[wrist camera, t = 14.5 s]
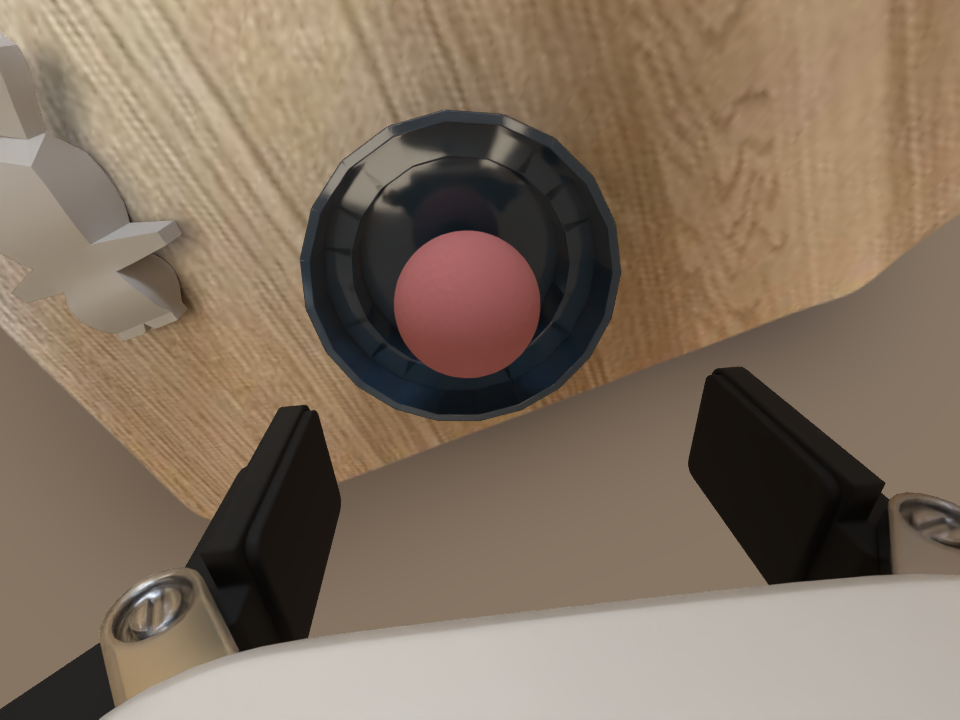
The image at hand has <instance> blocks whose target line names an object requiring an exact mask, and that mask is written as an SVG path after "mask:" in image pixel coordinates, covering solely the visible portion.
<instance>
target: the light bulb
mask: <svg viewBox="0 0 960 720" xmlns="http://www.w3.org/2000/svg"><path fill="white" fill-rule="evenodd" d="M394 313H395V319H396V323H397V326H398V330H399V332H400V335H401V337H402V339H403V341H404V342H405V344H406V345H407V347H408V348H409V349H410V351H411V352H412V353H413V354H414V355H415V356H416V357H417V358H418V359H419V360H420V361H421V362H422V363H424V364H425V365H426V366H428V367H430V368H431V369H433V370H435V371H437V372H440V373H442V374H445V375H448V376H452V377H459V378H477V377H482V376H486V375H490V374H493V373H496V372H498V371H500V370H501V369H503V368H505V367H507V366H508V365H510V364H511V363H512V362H514V361H515V360H516V359H517V358H518V357H519V356H520V355H521V354H522V353H523V352H524V350H525V349H526V348H527V346H528V345H529V343H530V342H531V340H532V338H533V336H534V334H535V331H536V328H537V325H538V321H539V315H540V293H539V288H538V284H537V281H536V278H535V275H534V273H533V271H532V269H531V268H530V266H529V264H528V263H527V261H526V260H525V259H524V257H523V256H522V255H521V254H520V253H519V252H518V251H517V250H516V249H515V248H514V247H512V246H511V245H510V244H508V243H507V242H505V241H503V240H502V239H500V238H498V237H496V236H493V235H490V234H487V233H484V232H478V231H455V232H451V233H447V234H443V235H440V236H438V237H436V238H434V239H432V240H430V241H429V242H427V243H426V244H424V245H423V246H422V247H420V248H419V249H418V250H417V251H416V252H415V253H414V254H413V255H412V256H411V258H410V259H409V260H408V262H407V263H406V264H405V266H404V268H403V270H402V272H401V274H400V276H399V279H398V281H397V286H396V290H395V297H394Z"/></svg>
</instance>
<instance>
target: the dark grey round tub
mask: <svg viewBox="0 0 960 720" xmlns="http://www.w3.org/2000/svg"><path fill="white" fill-rule="evenodd" d="M455 231H478V232H484V233H487V234H490V235H493V236H496V237H498V238H500V239H502V240H503V241H505V242H507V243H508V244H510V245H511V246H512V247H514V248H515V249H516V250H517V251H518V252H519V253H520V254H521V255H522V256H523V257H524V259H525V260H526V261H527V263H528V264H529V266H530V268H531V269H532V271H533V273H534V275H535V278H536V281H537V284H538V288H539V293H540V315H539V321H538V325H537V328H536V331H535V334H534V336H533V338H532V340H531V342H530V343H529V345H528V346H527V348H526V349H525V350H524V352H523V353H522V354H521V355H520V356H519V357H518V358H517V359H516V360H515V361H514V362H512V363H511V364H510V365H508V366H507V367H505V368H503V369H501V370H500V371H498V372H496V373H493V374H490V375H486V376H482V377H477V378H459V377H452V376H448V375H445V374H442V373H440V372H437V371H435V370H433V369H431V368H430V367H428V366H426V365H425V364H424V363H422V362H421V361H420V360H419V359H418V358H417V357H416V356H415V355H414V354H413V353H412V352H411V351H410V349H409V348H408V347H407V345H406V344H405V342H404V341H403V339H402V337H401V335H400V332H399V330H398V326H397V323H396V319H395V313H394V297H395V290H396V286H397V281H398V279H399V276H400V274H401V272H402V270H403V268H404V266H405V264H406V263H407V262H408V260H409V259H410V258H411V256H412V255H413V254H414V253H415V252H416V251H417V250H418V249H419V248H420V247H422V246H423V245H424V244H426V243H427V242H429V241H430V240H432V239H434V238H436V237H438V236H440V235H443V234H447V233H451V232H455ZM300 265H301V274H302V282H303V291H304V299H305V308H306V311H307V313H308V315H309V317H310V319H311V321H312V324H313V326H314V328H315V330H316V332H317V334H318V336H319V339H320V341H321V343H322V345H323V347H324V349H325V351H326V353H327V354H328V355H329V356H330V357H331V358H332V359H333V361H334V362H335V363H336V364H337V365H338V366H339V367H340V368H341V369H342V370H343V371H344V373H345V374H346V375H347V376H348V377H349V378H350V379H351V380H352V381H353V382H354V383H355V385H356V386H358V387H359V388H361V389H362V390H364V391H366V392H367V393H369V394H371V395H372V396H374V397H376V398H377V399H379V400H381V401H382V402H384V403H386V404H387V405H389V406H391V407H392V408H394V409H396V410H400V411H404V412H407V413H411V414H414V415H418V416H422V417H425V418H429V419H433V420H437V421H482V420H486V419H489V418H493V417H497V416H501V415H505V414H509V413H512V412H516V411H520V410H523V409H524V408H526V407H528V406H530V405H531V404H533V403H535V402H537V401H538V400H540V399H542V398H544V397H545V396H547V395H549V394H551V393H552V392H554V391H556V390H558V389H559V388H560V387H561V386H562V385H563V384H564V383H565V382H566V381H567V380H568V379H569V378H570V377H571V376H572V375H573V374H574V373H575V372H576V371H577V370H578V369H579V368H580V367H581V366H582V365H583V364H584V363H585V362H586V361H587V360H588V359H589V358H590V357H591V355H592V353H593V351H594V349H595V348H596V346H597V344H598V342H599V340H600V338H601V337H602V335H603V333H604V331H605V329H606V328H607V326H608V324H609V322H610V320H611V318H612V314H613V310H614V305H615V300H616V295H617V290H618V285H619V281H620V276H621V266H620V257H619V248H618V239H617V229H616V224H615V221H614V218H613V216H612V214H611V212H610V210H609V208H608V206H607V204H606V201H605V199H604V197H603V195H602V193H601V191H600V189H599V187H598V185H597V182H596V180H595V178H594V177H593V175H592V174H591V173H590V172H589V171H588V170H587V169H586V168H585V167H584V166H583V165H582V164H581V163H580V162H579V161H578V160H577V159H576V158H575V157H574V156H573V155H572V154H571V153H570V152H569V151H568V150H567V149H566V148H565V147H564V146H563V145H562V144H561V143H560V142H559V141H558V140H557V139H555V138H554V137H552V136H550V135H548V134H546V133H543V132H541V131H539V130H537V129H535V128H533V127H530V126H528V125H526V124H524V123H522V122H520V121H517V120H515V119H513V118H511V117H509V116H507V115H503V114H497V113H484V112H471V111H457V110H441V111H438V112H434V113H431V114H427V115H424V116H421V117H417V118H414V119H410V120H407V121H403V122H400V123H397V124H393V125H390V126H388V127H386V128H385V129H383V130H382V131H381V132H379V133H378V134H377V135H375V136H374V137H373V138H371V139H370V140H368V141H367V142H366V143H364V144H363V145H362V146H360V147H359V148H358V149H356V150H355V151H354V152H352V153H351V154H350V155H348V156H347V157H346V158H344V159H343V160H342V161H341V162H340V164H339V165H338V167H337V168H336V170H335V172H334V173H333V175H332V176H331V178H330V179H329V181H328V182H327V184H326V186H325V187H324V189H323V190H322V192H321V193H320V195H319V196H318V198H317V200H316V201H315V203H314V204H313V206H312V208H311V211H310V216H309V220H308V225H307V229H306V234H305V238H304V243H303V247H302V251H301V256H300Z"/></svg>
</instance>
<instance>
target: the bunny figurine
mask: <svg viewBox="0 0 960 720" xmlns="http://www.w3.org/2000/svg"><path fill="white" fill-rule="evenodd" d="M180 235H181V232H180V230H179V228H178V226H177V225H176V223H175V221H153V222H134V223H130V222H129V218H128V214H127V211H126V207H125V204H124V202H123V200H122V198H121V197H120V195H119V193H118V191H117V190H116V188H115V186H114V185H113V183H112V182H111V181H110V179H109V178H108V177H107V175H106V174H105V173H104V171H103V170H102V169H101V168H100V166H99V165H98V164H97V163H96V162H95V161H94V160H93V159H92V158H91V157H90V156H89V155H88V154H87V153H86V152H85V151H83V150H81V149H79V148H77V147H75V146H73V145H71V144H69V143H67V142H65V141H63V140H61V139H59V138H57V137H55V136H53V135H50V134H48V133H46V129H45V126H44V122H43V118H42V114H41V110H40V107H39V103H38V99H37V95H36V91H35V88H34V84H33V80H32V76H31V73H30V69H29V65H28V62H27V60H26V59H25V57H24V55H23V54H22V52H21V50H20V49H19V47H18V45H17V44H15V43H14V42H12V41H11V40H10V39H8V38H7V37H5V36H4V35H2V34H1V33H0V253H1V254H2V255H4V256H5V257H6V258H9V259H11V260H13V261H15V262H17V263H19V264H22V265H24V266H26V267H28V268H30V269H32V270H31V271H30V272H29V274H28V275H27V276H26V277H25V278H24V279H23V280H22V281H21V283H20V284H19V285H18V286H17V287H16V288H15V289H14V290H13V292H12V294H13V295H15V296H16V297H18V298H19V299H21V300H22V301H23V302H25V303H29V302H33V301H37V300H41V299H45V298H49V297H52V296H56V295H59V294H63V293H64V294H65V297H66V301H67V305H68V308H69V310H70V312H71V313H72V314H73V315H74V316H75V317H76V318H77V319H78V321H79V322H81V323H83V324H85V325H87V326H89V327H92V328H94V329H96V330H99V331H104V332H108V333H113V334H116V335H117V336H118V337H119V338H121V339H122V340H123V341H127V340H129V339H132V338H134V337H137V336H139V335H142V334H144V333H146V332H147V331H148V330H149V329H150V328H151V327H152V328H154V329H157V328H159V327H162V326H164V325H167V324H169V323H172V322H174V321H177V320H178V319H179V318H180V317H181V316H182V315H183V314H184V313H185V312H186V311H187V307H186V306H185V305H184V304H183V302H182V300H181V292H180V284H179V281H178V279H177V276H176V274H175V271H174V269H173V268H172V267H171V266H170V265H169V264H167V263H166V262H165V261H164V260H163V259H162V258H160V257H158V256H156V255H154V254H152V253H153V252H155V251H157V250H158V249H160V248H162V247H164V246H166V245H168V244H169V243H170V242H172V241H173V240H174V239H176V238H177V237H178V236H180Z"/></svg>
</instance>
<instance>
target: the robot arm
mask: <svg viewBox="0 0 960 720" xmlns="http://www.w3.org/2000/svg"><path fill="white" fill-rule="evenodd" d="M688 466H689V471H690V473H691V475H692V477H693V478H694V480H695V481H696V483H697V484H698V485H699V487H700V488H701V490H702V491H703V492H704V494H705V495H706V497H707V498H708V499H709V501H710V502H711V504H712V505H713V507H714V508H715V509H716V511H717V512H718V514H719V515H720V516H721V518H722V519H723V521H724V522H725V524H726V525H727V526H728V528H729V529H730V531H731V532H732V533H733V535H734V536H735V538H736V539H737V541H738V542H739V543H740V545H741V546H742V548H743V549H744V550H745V552H746V553H747V555H748V556H749V557H750V559H751V560H752V562H753V563H754V565H755V566H756V567H757V569H758V570H759V572H760V573H761V574H762V576H763V577H764V579H765V580H766V581H767V583H768V584H769V585H766V586H757V587H746V588H737V589H727V590H717V591H708V592H699V593H689V594H679V595H670V596H661V597H652V598H642V599H634V600H624V601H616V602H607V603H597V604H589V605H579V606H570V607H561V608H552V609H543V610H536V611H525V612H516V613H508V614H499V615H491V616H482V617H473V618H465V619H457V620H448V621H440V622H431V623H422V624H414V625H405V626H396V627H388V628H381V629H374V630H366V631H358V632H351V633H343V634H336V635H328V636H321V637H313V638H308V635H309V632H310V628H311V624H312V620H313V616H314V612H315V608H316V604H317V600H318V596H319V592H320V588H321V584H322V580H323V576H324V572H325V568H326V564H327V560H328V556H329V553H330V549H331V545H332V541H333V537H334V533H335V529H336V525H337V521H338V517H339V513H340V507H341V497H340V492H339V489H338V485H337V481H336V478H335V474H334V470H333V467H332V463H331V459H330V456H329V452H328V448H327V445H326V441H325V437H324V434H323V430H322V426H321V423H320V419H319V416H318V413H317V411H315V410H312V411H310V409H309V408H308V406H307V405H299V406H288V407H281V408H279V410H278V411H277V413H276V415H275V417H274V418H273V420H272V422H271V424H270V426H269V427H268V429H267V431H266V433H265V435H264V436H263V438H262V440H261V442H260V444H259V445H258V447H257V449H256V451H255V453H254V455H253V456H252V458H251V460H250V462H249V464H248V465H247V467H245V468H243V469H241V471H240V472H239V473H238V475H237V476H236V478H235V480H234V482H233V484H232V485H231V487H230V489H229V491H228V492H227V494H226V496H225V498H224V499H223V501H222V503H221V505H220V506H219V508H218V510H217V512H216V514H215V515H214V517H213V519H212V521H211V523H210V525H209V526H208V528H207V529H206V531H205V533H204V535H203V536H202V538H201V540H200V542H199V544H198V545H197V547H196V549H195V551H194V553H193V554H192V556H191V558H190V559H189V561H188V563H187V565H186V566H185V567H184V568H172V569H167V570H164V571H160V572H158V573H155V574H153V575H151V576H149V577H147V578H145V579H143V580H142V581H140V582H139V583H137V584H136V585H134V586H133V587H131V588H130V589H129V590H128V591H126V592H125V593H124V594H123V595H122V596H121V597H120V598H119V599H118V600H117V601H116V602H115V603H114V604H113V606H112V607H111V608H110V610H109V611H108V612H107V614H106V615H105V618H104V620H103V622H102V625H101V627H100V643H98V644H97V645H95V646H94V647H93V648H91V649H89V650H88V651H86V652H85V653H83V654H82V655H80V656H79V657H77V658H76V659H75V660H73V661H71V662H70V663H68V664H67V665H66V666H64V667H63V668H61V669H59V670H58V671H56V672H55V673H54V674H52V675H51V676H49V677H48V678H46V679H45V680H43V681H42V682H40V683H39V684H37V685H36V686H34V687H33V688H31V689H30V690H28V691H27V692H25V693H24V694H22V695H21V696H19V697H18V698H16V699H15V700H13V701H12V702H10V703H9V704H7V705H6V706H4V707H3V708H1V709H0V720H960V506H958V505H956V504H954V503H952V502H949V501H946V500H944V499H941V498H938V497H934V496H931V495H926V494H922V493H908V492H907V493H901V494H896V495H895V496H893V497H892V498H891V499H888V498H887V497H885V496H884V495H883V494H882V493H881V491H882V489H883V487H884V485H885V482H884V481H882V480H881V479H880V478H879V477H877V476H876V475H875V474H874V473H873V472H871V471H870V470H869V469H868V468H866V467H865V466H864V465H863V464H862V463H860V462H859V461H858V460H857V459H855V458H854V457H853V456H852V455H850V454H849V453H848V452H847V451H846V450H844V449H843V448H842V447H841V446H840V445H838V444H837V443H836V442H835V441H833V440H832V439H831V438H830V437H828V436H827V435H826V434H825V433H824V432H822V431H821V430H820V429H819V428H817V427H816V426H815V425H814V424H813V423H811V422H810V421H809V420H808V419H806V418H805V417H804V416H803V415H802V414H800V413H799V412H798V411H797V410H795V409H794V408H793V407H792V406H791V405H789V404H788V403H787V402H786V401H784V400H783V399H782V398H781V397H780V396H778V395H777V394H776V393H775V392H773V391H772V390H771V389H770V388H768V387H767V386H766V385H765V384H764V383H762V382H761V381H760V380H759V379H758V378H756V377H755V376H754V375H752V374H751V373H750V372H749V371H748V370H746V369H745V368H743V367H729V368H718V369H716V370H714V371H713V373H712V375H709V376H708V377H707V378H706V381H705V385H704V390H703V394H702V399H701V404H700V408H699V413H698V418H697V423H696V427H695V432H694V436H693V441H692V446H691V450H690V455H689V460H688Z"/></svg>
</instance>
